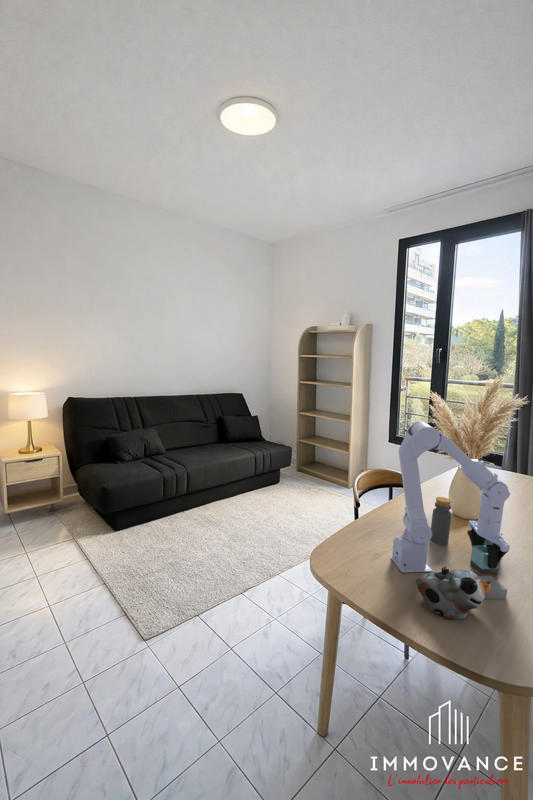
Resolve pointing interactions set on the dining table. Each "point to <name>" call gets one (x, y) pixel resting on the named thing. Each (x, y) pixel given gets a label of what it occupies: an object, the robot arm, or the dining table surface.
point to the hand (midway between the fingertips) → (484, 561)
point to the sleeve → (481, 560)
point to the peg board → (477, 570)
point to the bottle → (441, 521)
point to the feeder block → (494, 588)
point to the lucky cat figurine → (453, 592)
